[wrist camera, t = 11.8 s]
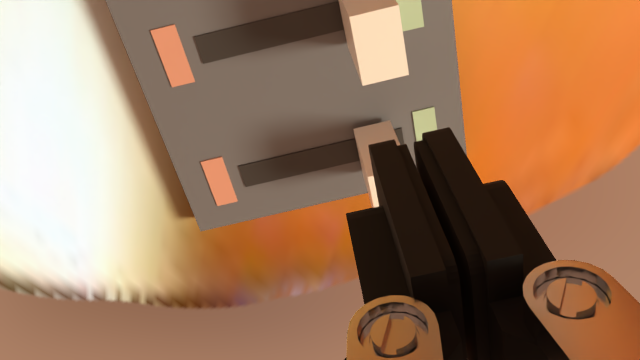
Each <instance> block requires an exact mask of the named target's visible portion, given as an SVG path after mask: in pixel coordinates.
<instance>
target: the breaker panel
mask: <svg viewBox="0 0 640 360" xmlns="http://www.w3.org/2000/svg"><path fill="white" fill-rule="evenodd" d="M105 1H106V3H107V5H108V8H109V10H110V13H111V15H112V18H113V20H114V22H115V25H116V27H117V30H118V32H119V35H120V37H121V39H122V42H123V44H124V47H125V49H126V52H127V54H128V56H129V59H130V61H131V64H132V66H133V68H134V71H135V73H136V76H137V78H138V81H139V83H140V85H141V88H142V90H143V93H144V95H145V98H146V100H147V102H148V105H149V107H150V110H151V112H152V115H153V117H154V119H155V122H156V124H157V127H158V129H159V131H160V134H161V136H162V139H163V141H164V144H165V146H166V148H167V151H168V153H169V156H170V158H171V161H172V163H173V165H174V168H175V170H176V173H177V175H178V177H179V180H180V182H181V185H182V187H183V190H184V192H185V194H186V197H187V199H188V202H189V204H190V207H191V209H192V211H193V214H194V216H195V219H196V221H197V224H198V226H199V228H200V231H204V230H209V229H213V228H217V227H222V226H226V225H230V224H235V223H239V222H243V221H248V220H252V219H256V218H261V217H265V216H269V215H274V214H278V213H282V212H287V211H291V210H295V209H300V208H304V207H308V206H313V205H317V204H321V203H326V202H330V201H334V200H339V199H343V198H347V197H352V196H356V195H360V194H365V193H368V191H367V187H366V184H365V180H364V177H363V173H362V168H361V163H360V158H359V154H358V149H357V144H356V140H355V135H354V130H353V129H355V128H359V127H363V126H368V125H372V124H376V123H380V122H385V121H389V120H390V122H391V124H392V127H393V129H394V131H395V134H396V136H397V138H398V141H399V143H400V145H403V144H406V145H407V147H408V149H409V151H410V154H411V156H412V158H413V161H414V163H415V165H416V161H415V153H414V142H416V141H421V140H422V133H425V132H429V131H434V130H438V129H443V128H447V127H450V129H451V130H452V132H453V133H454V135H455V137H456V138H457V140H458V142H459V144H460V145H461V147H462V149H463V151H464V152H465V154H466V144H465V133H464V123H463V113H462V102H461V92H460V82H459V72H458V61H457V51H456V41H455V30H454V20H453V10H452V0H396V2H397V3H398V4H399V9H400V16H401V23H402V30H403V37H404V44H405V51H406V57H407V64H408V71H409V75H406V76H402V77H398V78H394V79H390V80H385V81H381V82H377V83H373V84H369V85H364V86H362V83H361V80H360V78H359V75H358V72H357V70H356V67H355V65H354V62H353V59H352V57H351V54H350V52H349V49H348V46H347V41H346V36H345V31H344V26H343V21H342V16H341V11H340V6H339V1H338V0H105ZM466 156H467V154H466Z"/></svg>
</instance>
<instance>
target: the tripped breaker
mask: <svg viewBox="0 0 640 360" xmlns="http://www.w3.org/2000/svg"><path fill="white" fill-rule="evenodd" d="M338 1H339V6H340V11H341V16H342V21H343V26H344V31H345V36H346V41H347V46H348V49H349V52H350V54H351V57H352V59H353V62H354V65H355V67H356V70H357V72H358V75H359V78H360V80H361V83H362V86H364V85H369V84H373V83H377V82H381V81H385V80H390V79H394V78H398V77H402V76H406V75H409V71H408V64H407V57H406V51H405V44H404V37H403V30H402V23H401V16H400V9H399V4H398V3H397V2H396V0H338Z"/></svg>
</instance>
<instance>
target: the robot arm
mask: <svg viewBox="0 0 640 360" xmlns="http://www.w3.org/2000/svg"><path fill="white" fill-rule="evenodd" d="M368 147H369V154H370V159H371V165H372V170H373V176H374V181H375V187H376V192H377V198H378V203H379V207H374V208H369V209H365V210H360V211H355V212H351V213H346V216H347V221H348V226H349V231H350V236H351V241H352V246H353V250H354V255H355V260H356V265H357V270H358V275H359V280H360V284H361V289H362V294H363V299H364V304H365V305H364V306H362V307H361V308H360V309H359V310H358V311H357V312H356V313H355V314H354V316H353V317H352V319H351V321H350V323H349V327H348V332H347V357H346V358H345V360H640V303H639V302H637V300H636V299H634V297H633V296H632V295H631V294H630V293H629V292H628V291H627V290H626V289H624V287H623V286H621V285H620V284H619V283H618V281H616V280H615V279H614V278H613V277H612V276H611V275H609V274H608V273H607V272H605V271H604V270H603V269H601V268H598V267H596V266H593V265H592V264H589V263H584V262H580V261H575V260H558V261H556V259H555V258H554V256H553V255H552V253H551V252H550V250H549V248H548V247H547V245H546V244H545V242H544V241H543V239H542V237H541V236H540V234H539V233H538V231H537V230H536V228H535V227H534V225H533V223H532V222H531V220H530V219H529V217H528V216H527V214H526V213H525V211H524V209H523V208H522V206H521V205H520V203H519V202H518V200H517V199H516V197H515V195H514V194H513V192H512V191H511V189H510V188H509V186H508V185H507V184H506V182H505V181H503V180H499V181H495V182H490V183H485V184H483V183H482V182H481V180H480V178H479V176H478V175H477V173H476V171H475V170H474V168H473V166H472V164H471V163H470V161H469V159H468V157H467V156H466V154H465V152H464V151H463V149H462V147H461V145H460V144H459V142H458V140H457V138H456V137H455V135H454V133H453V132H452V130H451V129H450V127H447V128H443V129H438V130H434V131H429V132H425V133H422V140H421V141H416V142H414V153H415V161H416V165H415V163H414V161H413V158H412V156H411V154H410V151H409V149H408V147H407V145H406V144H403V145H398V146H397V144H396V141H395V140H394V139H393V140H388V141H384V142H379V143H375V144H370V145H368Z"/></svg>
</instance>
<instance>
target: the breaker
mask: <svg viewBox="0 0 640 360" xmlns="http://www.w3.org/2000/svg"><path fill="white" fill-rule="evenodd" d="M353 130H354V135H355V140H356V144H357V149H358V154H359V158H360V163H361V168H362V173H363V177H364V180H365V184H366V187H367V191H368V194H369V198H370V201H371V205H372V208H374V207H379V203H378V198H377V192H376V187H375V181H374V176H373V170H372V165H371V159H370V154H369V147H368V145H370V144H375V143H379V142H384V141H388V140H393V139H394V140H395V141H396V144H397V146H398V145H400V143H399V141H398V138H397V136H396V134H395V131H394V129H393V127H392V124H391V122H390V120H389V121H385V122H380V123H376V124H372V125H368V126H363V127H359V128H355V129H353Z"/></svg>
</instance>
